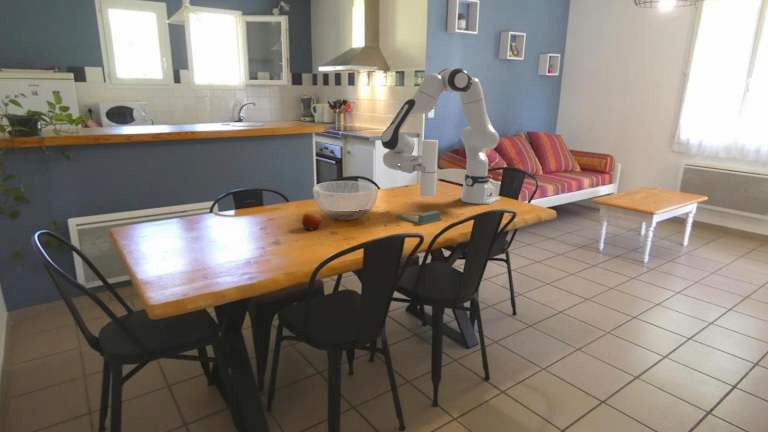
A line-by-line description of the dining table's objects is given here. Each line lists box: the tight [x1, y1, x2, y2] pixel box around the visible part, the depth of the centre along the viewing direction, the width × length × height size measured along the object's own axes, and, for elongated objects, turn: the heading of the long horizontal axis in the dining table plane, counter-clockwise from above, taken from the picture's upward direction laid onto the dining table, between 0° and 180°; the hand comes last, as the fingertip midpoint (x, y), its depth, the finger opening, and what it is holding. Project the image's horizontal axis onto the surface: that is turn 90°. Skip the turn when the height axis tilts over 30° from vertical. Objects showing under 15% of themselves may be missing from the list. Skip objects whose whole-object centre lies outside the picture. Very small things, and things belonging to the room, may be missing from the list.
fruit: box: [301, 212, 323, 232], centre depth 190 cm, size 8×8×8 cm
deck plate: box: [395, 210, 442, 226], centre depth 209 cm, size 13×16×4 cm
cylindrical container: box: [419, 139, 439, 197], centre depth 212 cm, size 7×7×25 cm
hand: (430, 168), depth 211 cm, fingers closed on cylindrical container, 7 cm apart
